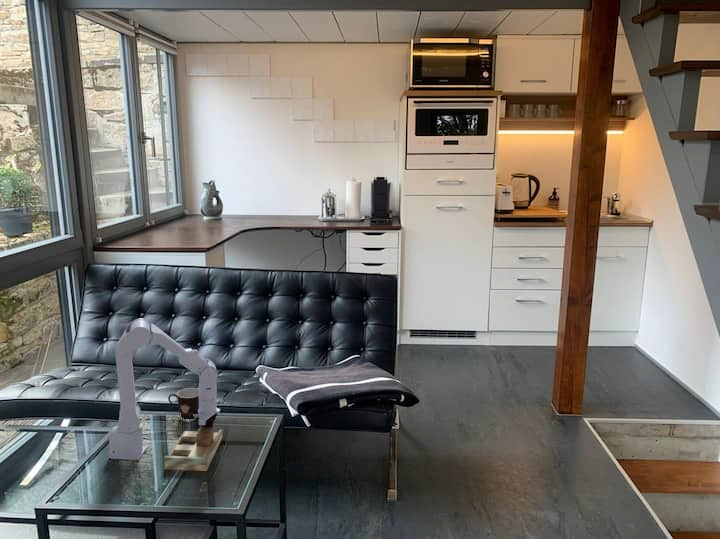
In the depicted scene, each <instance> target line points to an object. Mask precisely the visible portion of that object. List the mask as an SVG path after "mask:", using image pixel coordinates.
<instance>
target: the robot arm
mask: <svg viewBox="0 0 720 539" xmlns="http://www.w3.org/2000/svg"><path fill="white" fill-rule="evenodd" d="M148 344H149V345H148ZM146 345H148V346H149V347H151V346H152V347H153V346H158V345H159V346H160V347H162V348H163V349H164V350H166V351H167V352H170V353H171V354H173V355H174V356H176V357H177V358H178V362H179V364H180V365H181V366H183V367H185V368H186V369H187V370H189V371H190V372H192V373H193V374H195V375H198V378H199V382H198V389H199V409H198V414H199V417H198V419H197V420H198V426H201V427H208V428H213V429H214V425H215V420H216V419H217V416H218V414H219V413H220V412H221V408H218V407H217V397H218V396H217V394H218V393H217V392H218V391H217V390H218V389H217V378H219V375H218V370H217V367H216V364H215V363H214V362H213V360H211V359H208V358H205V357H204V356H202V355H201V354H199V351H198V350H197V349H192V348H184V347H183V346H182V345H180V344H179V343H178V342H177V341H176V340H174V339H173V338H172V337H170V335H168V334H167V333H165V332H164V330H161V329H160V328H159V327H158V326H156V325H155V324H153V323H150V321H149V320H147V319H146V318H136V319H134V320H133V321H132V322H130V323H129V324H128V325H126V327H125V329H124V331H123V333H122V335H121V336H120V338H119V339H118V341H117V343H116V344H115V348H114V349H115V350H114V353H115V363H116V365H115V366H116V374H117V384H118V392H119V394H118V395H119V402H120V404H119V406H120V407H119V408H120V409H119V418H118V425H116V426H113V427H112V428H111V430H110V433H109V436H108V437H109V438H108V444H109V446H108V447H109V448H108V449H109V456H108V459H109V458H111V459H110V460H131V461H139V460H140V458H141V457H142V456H143V454H144V453H145V452H146V450H147V448H148V445H143V444H144V442H143V441H144V440H143V423H142V422H141V406H140V405H139V404H138V402H137V401H138V400H137V397H136V386H135V376H134V366H133V356H132V354H133V353H134V352H136V351H137V350H138V349H141V348H143V347H144V346H146Z"/></svg>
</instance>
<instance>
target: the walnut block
mask: <svg viewBox="0 0 720 539" xmlns="http://www.w3.org/2000/svg"><path fill="white" fill-rule="evenodd" d="M196 432H197V433H196V447H210V446H211V444H212V442H213V432H214V427H213V428H208V427H202V426H201V427H200V426H199V428H198V429H197V431H196Z"/></svg>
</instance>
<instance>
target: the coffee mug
mask: <svg viewBox="0 0 720 539" xmlns="http://www.w3.org/2000/svg"><path fill="white" fill-rule="evenodd" d="M171 397H175V398H176V399H177V405H178V406H177V405H176V404H174V403H173V402H172V401H171ZM167 400H168V402H169V404H170V405H172V407H174V408H175V409H176V410H178V411H179V414H180V413H181V417H182V418H184V419H189V420H190V419H194V418H195V417H194V416H193V414H198V409H199V388H197V387H186V388H185V387H184V388H182V389H180V390H178V391H177V392H176V394H175V393H172V394H169V395H168V398H167Z"/></svg>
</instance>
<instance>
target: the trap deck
mask: <svg viewBox="0 0 720 539" xmlns="http://www.w3.org/2000/svg"><path fill="white" fill-rule="evenodd" d="M197 432H198V431H192V430H191V431H190V430H189V431H188V430H184V431H183V432H182V434H181V436H180V437H179V438H178V441H177V442H176V444H175V445H174V447H173V449H172V450H171V452H170V453H169V455H165V456H163V467H164V470H177V471H178V470H179V471H197V472H198V471H200V472H201V471H202V472H207V471H208V469H209V467H210V464H211V463H212V461H213V458H214V457H215V454H216V452H217V450H218V448H219V446H220V444H221V442H222V440H223V429H219V430H218V431H217V432H214V431H213V442H212V444H211V446H210V447H196V433H197Z"/></svg>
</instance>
